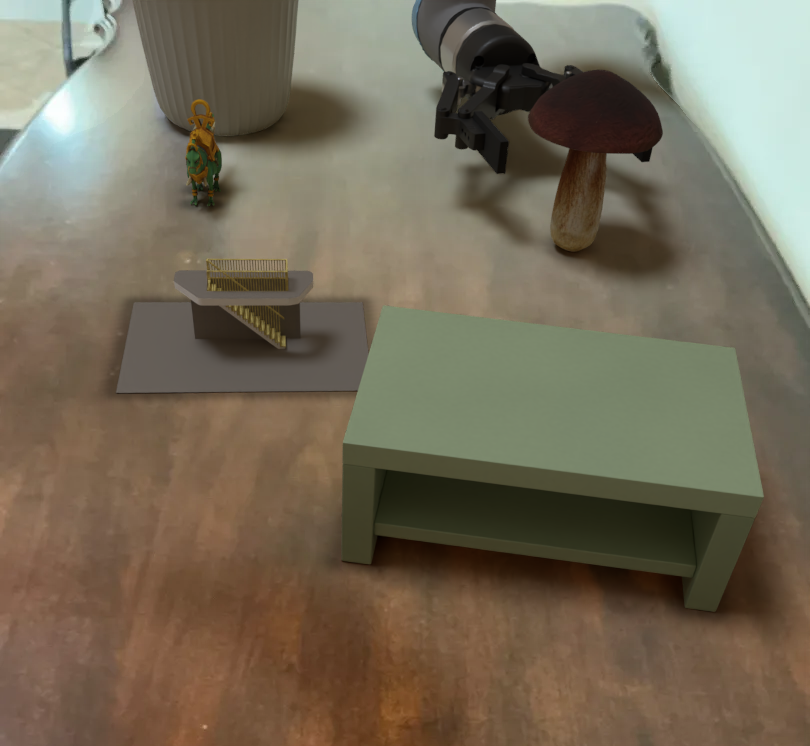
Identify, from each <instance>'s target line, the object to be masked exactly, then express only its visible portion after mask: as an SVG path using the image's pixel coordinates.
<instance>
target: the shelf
mask: <svg viewBox="0 0 810 746" xmlns="http://www.w3.org/2000/svg"><path fill="white" fill-rule="evenodd" d="M753 438H754V437H753V432H752V427H751V423H750V417H749V412H748V407H747V401H746V396H745V392H744V386H743V381H742V376H741V371H740V365H739V360H738V355H737V350H736V347H732V346H725V345H723V346H722V345H715V344H706V343H699V342H692V341H691V342H689V341H681V340H674V339H664V338H657V337H648V336H640V335H633V334H632V335H631V334H624V333H615V332H609V331H608V332H606V331H598V330H591V329H582V328H574V327H567V326H566V327H565V326H557V325H550V324H542V323H534V322H533V323H532V322H525V321H516V320H510V319H509V320H508V319H499V318H491V317H483V316H475V315H467V314H459V313H452V312H451V313H450V312H443V311H433V310H426V309H418V308H410V307H403V306H402V307H401V306H393V305H386V304H385V305H382V307H381V310H380V314H379V317H378V321H377V323H376V328H375V331H374V334H373V338H372V340H371V344H370V347H369V350H368V358H367V361H366V365H365V368H364V371H363V375H362V378H361V382H360V385H359V389H358V391H357V392H356V396H355V399H354V402H353V406H352V409H351V413H350V416H349V420H348V423H347V426H346V429H345V433H344V436H343V440H342V454H341V455H342V458H341V459H342V460H341V461H342V462H341V463H342V472H341V474H342V481H341V491H342V492H341V545H340V546H341V548H340V549H341V552H340V553H341V555H340V557H341V561H342V562H349V563H354V564H355V563H357V564H362V565H371V564H372V563H373V558H374V554H375V550H376V544H377V539H378V536H380V537H387V538H394V539H401V540H409V541H415V542H416V541H417V542H425V543H431V544H440V545H446V546H453V547H461V548H468V549H469V548H470V549H476V550H483V551H491V552H496V553H497V552H498V553H506V554H513V555H521V556H526V557H527V556H528V557H536V558H542V559H550V560H558V561H565V562H570V563H571V562H572V563H580V564H587V565H595V566H603V567H610V568H616V569H622V570H623V569H624V570H631V571H638V572H647V573H654V574H660V575H667V576H675V577H681V582H682V592H683V593H682V594H683V605H684V608H685V609H691V610H696V611H697V610H698V611H706V612H711V613H712V612H713V613H715V612H716V611H717V609H718V608H719V605H720V602H721V600H722V598H723V595H724V593H725V590H726V588H727V586H728V583H729V581H730V578H731V576H732V574H733V571H734V570H735V567H736V564H737V562H738V560H739V558H740V555H741V553H742V551H743V548H744V545H745V543H746V540H747V539H748V537H749V534H750V531H751V528H752V526H753V525H754V521H755V519H756V517H757V515H758V513H759V510H760V508H761V505H762V503H763V501H764V498H765V494H764V490H763V485H762V478H761V474H760V468H759V464H758V458H757V454H756V449H755V444H754V443H755V442H754V439H753Z"/></svg>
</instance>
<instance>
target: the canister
mask: <svg viewBox="0 0 810 746" xmlns="http://www.w3.org/2000/svg"><path fill="white" fill-rule="evenodd" d="M131 2H132V6H133V9H134V13H135V19H136V23H137V27H138V28H137V29H138V32H139V37H140V41H141V45H142V49H143V54H144V58H145V62H146V65H147V69H148V74H149V77H150V81H151V86H152V88H153V92H154V96H155V98H156V101H157V104H158V106H159V108H160V109H161V111H162V112H163V114H164V116H165V117H166V118H167V119H168V120H169V121H171V120H172V121H171V122H172V123H173V124H174V125H176V126H178V127H179V128H181V129H185V130H186V131H188V132H192V131H193V129H194V127H195V123H194V124H192V125H190V124H189V122H188V120H187V119H188V118H190V117H192V116H194V115H193V113H192V111H191V105H192V103H193V102H194V101H195V100H198V99H201V100H204V101H205V102H207V103H208V105H209V106H210V110H211V111H210V112H212V113H213V114H214V120H215V121H214V122H215V130H214V133H215V134H214V136H218V137H225V136H226V137H231V136H232V137H233V136H242V135H244V136H245V135H247V134H254V133H255V132H256V133H257V132H261V131H262V130H265V129H268V128H269V127H271V126H274V124H276V123H277V122H279V120H280V119H281V118H282V117H283V115H284V113H285V111H286V110H287V106H288V103H289V100H290V95H291V88H292V79H293V70H294V69H293V68H294V62H295V61H294V60H295V59H294V58H295V49H296V36H297V27H298V26H297V24H298V12H299V0H131ZM195 111H196V115H199V114H203V115H206V108H205V106H204V105H202V104H197V105H196V107H195ZM199 119H200V122H201V124H202V123H203V120H204V119H201V118H199ZM191 121H192V122H194V121H193V120H191Z"/></svg>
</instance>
